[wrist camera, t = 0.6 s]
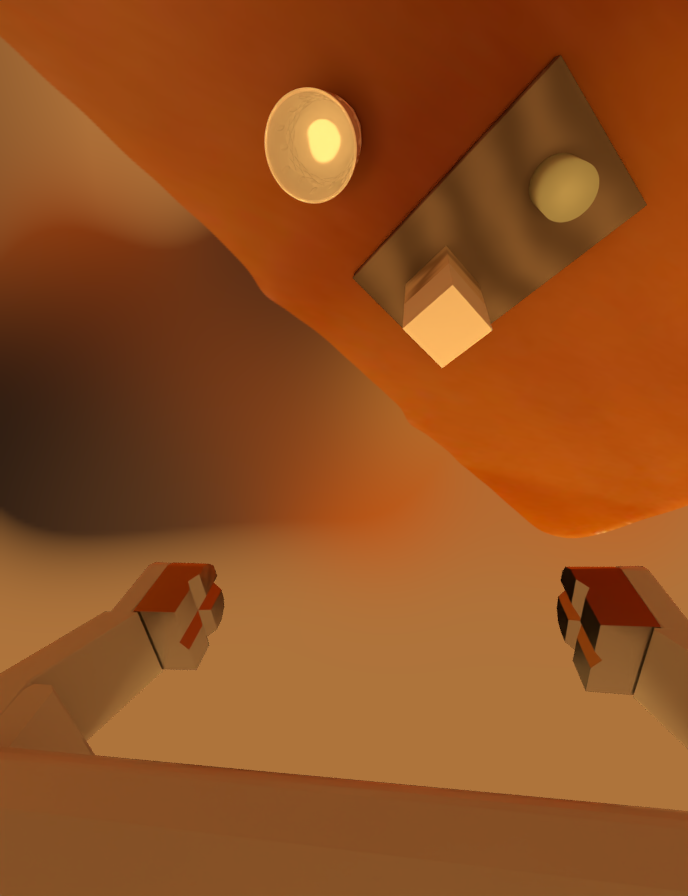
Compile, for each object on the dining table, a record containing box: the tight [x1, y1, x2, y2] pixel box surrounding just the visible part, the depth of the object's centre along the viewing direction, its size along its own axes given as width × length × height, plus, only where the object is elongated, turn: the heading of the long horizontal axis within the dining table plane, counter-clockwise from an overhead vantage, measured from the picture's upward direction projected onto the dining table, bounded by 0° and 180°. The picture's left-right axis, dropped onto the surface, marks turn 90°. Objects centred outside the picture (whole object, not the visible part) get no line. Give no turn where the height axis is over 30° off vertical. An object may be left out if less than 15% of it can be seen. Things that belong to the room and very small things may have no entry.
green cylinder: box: [529, 153, 599, 222], centre depth 38 cm, size 5×5×5 cm
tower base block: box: [404, 246, 485, 304], centre depth 46 cm, size 6×6×6 cm
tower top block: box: [403, 264, 492, 368], centre depth 41 cm, size 6×6×6 cm
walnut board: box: [353, 55, 647, 328], centre depth 45 cm, size 26×16×2 cm, turn 138°
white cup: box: [265, 87, 362, 203], centre depth 38 cm, size 8×8×10 cm
